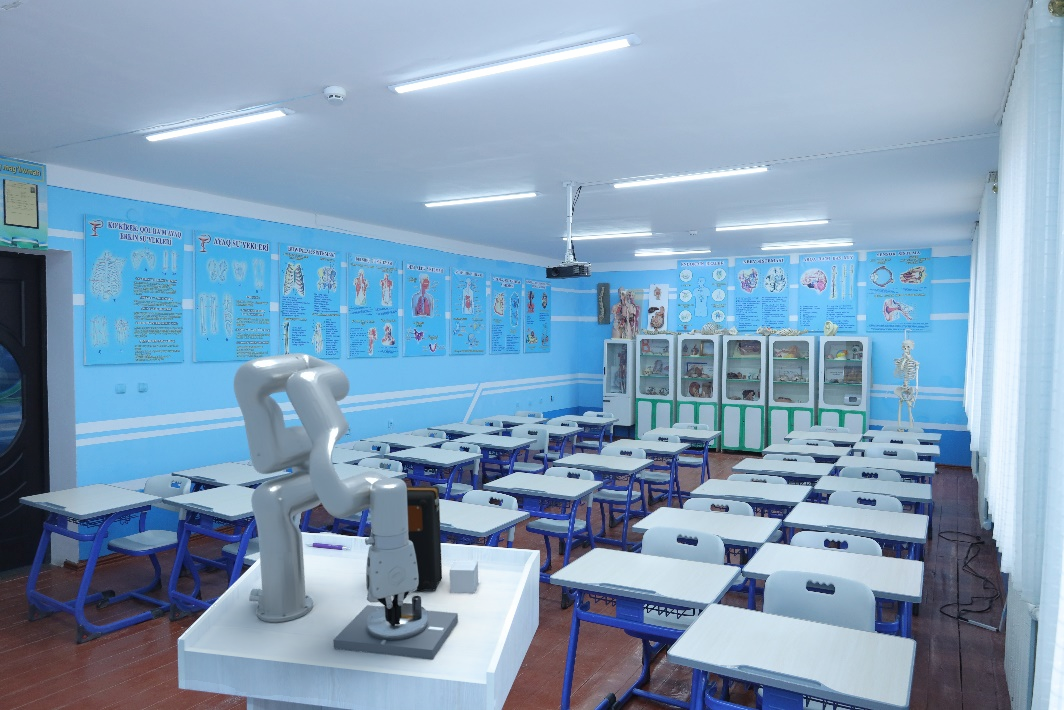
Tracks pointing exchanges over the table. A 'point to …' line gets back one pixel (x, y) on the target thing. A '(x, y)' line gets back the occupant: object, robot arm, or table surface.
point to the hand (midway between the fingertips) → (393, 622)
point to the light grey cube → (463, 576)
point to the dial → (410, 622)
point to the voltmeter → (425, 533)
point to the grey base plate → (414, 646)
